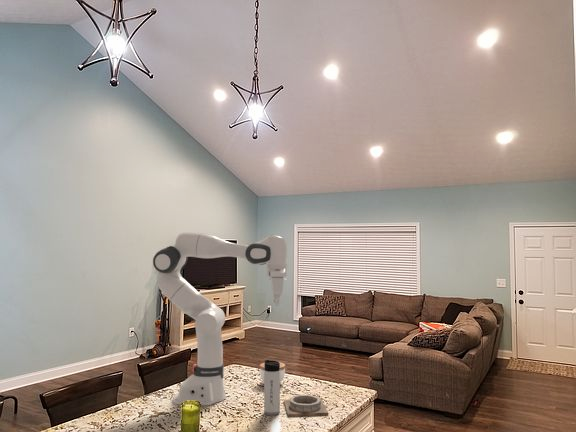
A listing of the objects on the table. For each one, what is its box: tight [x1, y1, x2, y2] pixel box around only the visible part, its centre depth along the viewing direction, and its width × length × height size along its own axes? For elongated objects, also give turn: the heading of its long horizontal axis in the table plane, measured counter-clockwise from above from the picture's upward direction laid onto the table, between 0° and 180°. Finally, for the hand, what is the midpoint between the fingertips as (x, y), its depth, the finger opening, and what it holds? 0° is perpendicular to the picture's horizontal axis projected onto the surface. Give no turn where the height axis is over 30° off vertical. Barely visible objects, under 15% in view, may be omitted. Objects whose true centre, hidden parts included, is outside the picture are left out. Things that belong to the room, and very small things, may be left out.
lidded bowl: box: [259, 361, 286, 384], centre depth 209 cm, size 13×13×11 cm
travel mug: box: [263, 359, 281, 416], centre depth 171 cm, size 6×7×20 cm
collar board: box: [283, 394, 329, 418], centre depth 175 cm, size 16×16×4 cm
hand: (276, 304), depth 186 cm, fingers open, 8 cm apart
